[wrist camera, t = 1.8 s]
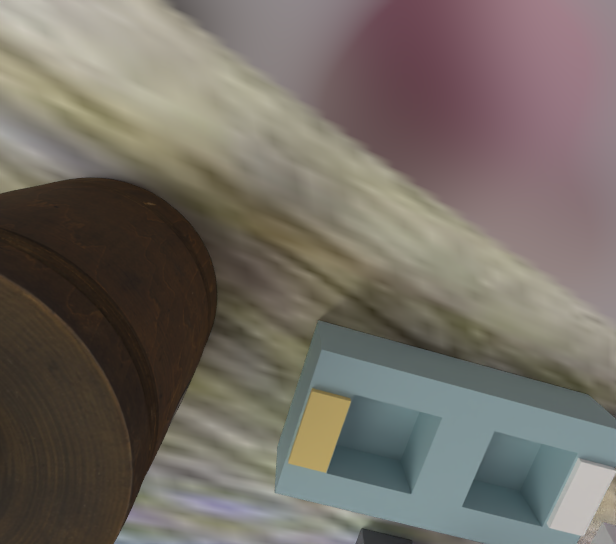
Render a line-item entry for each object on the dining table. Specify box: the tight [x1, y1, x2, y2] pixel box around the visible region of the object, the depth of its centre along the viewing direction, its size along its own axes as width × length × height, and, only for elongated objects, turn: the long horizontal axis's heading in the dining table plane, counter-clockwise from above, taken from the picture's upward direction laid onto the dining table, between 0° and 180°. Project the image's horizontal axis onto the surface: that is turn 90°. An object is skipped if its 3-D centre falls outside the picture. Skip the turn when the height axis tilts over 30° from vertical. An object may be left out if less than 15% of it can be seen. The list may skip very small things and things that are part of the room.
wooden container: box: [0, 178, 217, 544], centre depth 24 cm, size 15×15×22 cm
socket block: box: [275, 320, 616, 544], centre depth 35 cm, size 10×20×5 cm, turn 73°
